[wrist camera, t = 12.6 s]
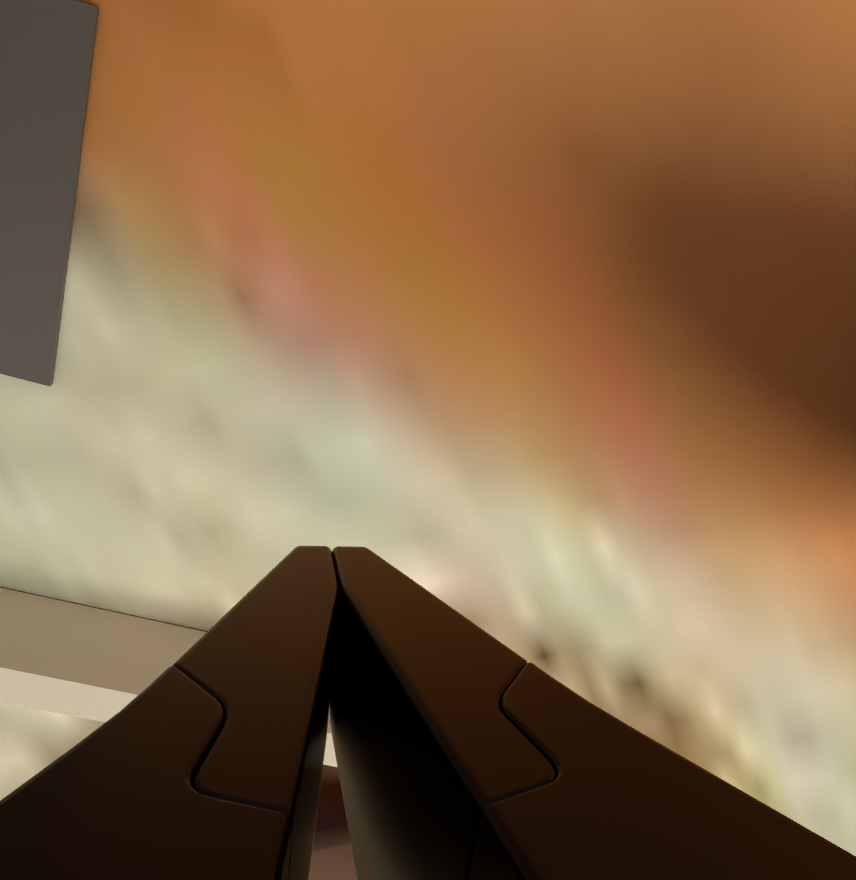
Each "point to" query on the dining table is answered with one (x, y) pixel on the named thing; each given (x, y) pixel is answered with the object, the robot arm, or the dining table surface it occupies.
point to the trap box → (34, 356)
